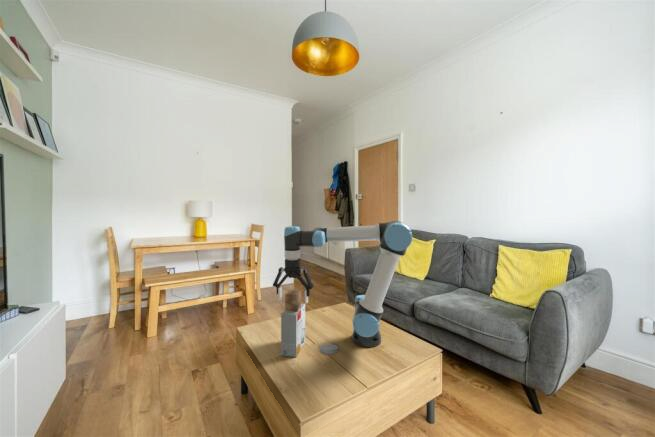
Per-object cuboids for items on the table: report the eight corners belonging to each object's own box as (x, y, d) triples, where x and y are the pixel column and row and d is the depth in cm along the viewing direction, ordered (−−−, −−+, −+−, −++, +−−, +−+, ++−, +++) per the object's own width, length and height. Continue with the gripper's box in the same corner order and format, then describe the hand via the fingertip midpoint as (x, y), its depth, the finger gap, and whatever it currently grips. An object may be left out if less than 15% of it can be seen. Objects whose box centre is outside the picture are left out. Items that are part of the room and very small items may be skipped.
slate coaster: (339, 346, 134) (339, 344, 134) (336, 356, 125) (336, 354, 125) (322, 344, 136) (322, 342, 136) (317, 353, 128) (317, 352, 127)
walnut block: (301, 306, 133) (301, 291, 132) (297, 311, 127) (296, 295, 127) (289, 305, 134) (289, 290, 134) (285, 310, 128) (284, 294, 128)
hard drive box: (296, 358, 124) (295, 315, 122) (280, 356, 125) (280, 314, 124) (305, 340, 139) (305, 303, 138) (291, 339, 140) (291, 302, 139)
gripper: (319, 257, 130) (319, 300, 131) (272, 255, 136) (272, 296, 137) (315, 261, 123) (315, 306, 124) (265, 258, 129) (266, 302, 130)
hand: (293, 301), depth 131 cm, fingers open, 13 cm apart
